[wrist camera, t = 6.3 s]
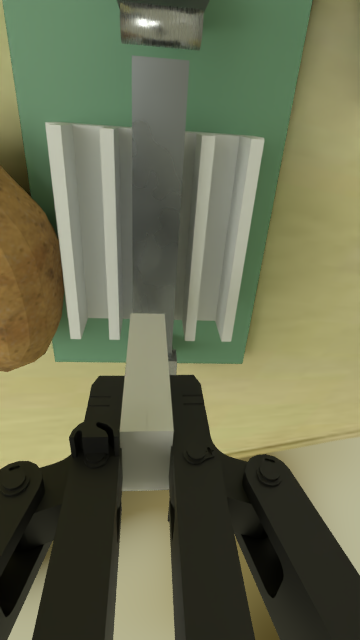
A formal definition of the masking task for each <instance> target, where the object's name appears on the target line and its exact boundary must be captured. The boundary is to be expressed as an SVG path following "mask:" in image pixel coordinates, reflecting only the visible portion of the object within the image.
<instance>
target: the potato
mask: <svg viewBox="0 0 360 640" xmlns="http://www.w3.org/2000/svg"><path fill="white" fill-rule="evenodd" d="M63 299H64V284H63V274H62V265H61V256H60V247H59V241H58V238H57V236H56V233H55V230H54V228H53V226H52V225H51V223H50V222H49V220H48V218H47V216H46V214H45V212H44V211H43V210H42V208H41V207H40V206H39V205H38V204H37V203H36V202H35V201H34V200H33V199H32V198H31V197H30V196H29V195H28V194H27V193H26V192H25V191H24V190H23V189H22V188H21V187H20V186H19V185H18V184H17V182H16V181H15V180H14V179H13V178H12V177H11V176H10V175H9V174H8V173H7V172H6V171H5V170H4V169H3V168H2V167H1V166H0V371H4V372H8V371H11V370H14V369H16V368H19V367H21V366H24V365H27V364H29V363H32V362H35V361H36V360H37V359H38V358H40V357H41V356H42V355H43V354H45V353H46V351H47V349H48V347H49V345H50V343H51V341H52V339H53V337H54V335H55V333H56V331H57V328H58V326H59V323H60V320H61V317H62V308H63Z"/></svg>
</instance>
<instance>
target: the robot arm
mask: <svg viewBox="0 0 360 640" xmlns="http://www.w3.org/2000/svg"><path fill="white" fill-rule="evenodd" d="M69 440H70V447H71V455H70V456H69V457H67V458H65V459H64V460H62V461H60V462H57V463H54V464H51V465H48V466H45V467H41V468H39V467H38V466H37V465H36V464H34V463H32V462H29V461H18V462H15V463H11V464H8V465H7V466H5V467H3V468H2V469H0V640H7V639H8V637H9V635H10V633H11V630H12V628H13V626H14V624H15V621H16V619H17V617H18V615H19V613H20V611H21V608H22V606H23V604H24V601H25V600H26V597H27V595H28V593H29V591H30V588H31V586H32V584H33V582H34V580H35V578H36V575H37V573H38V571H39V568H40V566H41V564H42V562H43V560H44V558H45V556H46V553H47V551H48V549H49V547H50V545H51V543H52V541H53V540H54V542H53V547H52V551H51V556H50V560H49V565H48V569H47V574H46V578H45V583H44V588H43V592H42V597H41V602H40V606H39V610H38V615H37V619H36V625H35V629H34V633H33V638H32V640H113V632H114V617H115V602H116V586H117V572H118V557H119V542H120V541H119V540H120V525H121V511H122V507H121V495H122V491H143V490H169V492H170V501H169V513H168V521H169V522H170V540H171V541H170V542H171V563H172V584H173V605H174V626H175V640H255V637H254V632H253V627H252V622H251V617H250V611H249V607H248V601H247V596H246V592H245V586H244V581H243V576H242V572H241V566H240V561H239V556H238V551H237V546H236V541H235V536H236V539H237V541H238V543H239V545H240V548H241V550H242V552H243V555H244V557H245V559H246V562H247V564H248V566H249V569H250V571H251V573H252V575H253V578H254V580H255V582H256V585H257V587H258V589H259V592H260V594H261V596H262V598H263V601H264V603H265V605H266V607H267V610H268V612H269V615H270V617H271V619H272V622H273V624H274V626H275V628H276V631H277V633H278V635H279V638H280V640H360V575H359V574H358V572H357V571H356V569H355V568H354V566H353V565H352V563H351V562H350V560H349V559H348V557H347V556H346V554H345V553H344V551H343V550H342V548H341V547H340V545H339V543H338V542H337V540H336V539H335V538H334V536H333V535H332V533H331V532H330V530H329V528H328V527H327V525H326V524H325V522H324V521H323V519H322V518H321V516H320V515H319V513H318V512H317V510H316V509H315V507H314V506H313V504H312V503H311V501H310V500H309V498H308V497H307V495H306V494H305V492H304V491H303V489H302V487H301V486H300V484H299V483H298V481H297V480H296V479H295V477H294V475H293V474H292V472H291V471H290V469H289V468H288V467H287V466H286V465H285V464H284V463H283V462H282V461H281V460H279V459H277V458H276V457H274V456H270V455H266V454H263V455H256V456H254V457H252V458H250V460H249V461H248V462H246V461H242V460H239V459H235V458H232V457H229V456H227V455H225V454H223V453H222V452H220V451H219V450H218V449H217V448H216V447H215V445H214V444H213V442H212V439H211V436H210V431H209V426H208V420H207V415H206V410H205V405H204V399H203V394H202V389H201V384H200V383H199V381H198V380H197V379H196V378H195V376H194V375H169V364H168V351H167V338H166V325H165V314H148V313H131V314H130V325H129V336H128V346H127V357H126V368H125V376H99V377H98V378H97V380H96V381H95V382H94V383H93V384H92V387H91V391H90V396H89V401H88V407H87V410H86V415H85V420H84V422H83V423H81V424H79V425H78V426H77V427H76V428H75V429H73V431H72V433H71V435H70V437H69ZM234 534H235V536H234Z"/></svg>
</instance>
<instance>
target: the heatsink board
mask: <svg viewBox="0 0 360 640" xmlns="http://www.w3.org/2000/svg"><path fill="white" fill-rule="evenodd" d="M120 1H123V2H133V3H143V4H153V5H162V6H172V7H182V8H191V9H201V10H203V32H202V41H201V47H200V51H196V50H185V49H174V48H164V47H153V46H142V45H131V44H122V43H121V33H120ZM312 1H313V0H2V2H3V8H4V15H5V22H6V29H7V36H8V42H9V49H10V56H11V63H12V70H13V77H14V83H15V90H16V97H17V104H18V111H19V117H20V124H21V131H22V138H23V145H24V151H25V158H26V165H27V172H28V179H29V186H30V192H31V198H32V199H33V200H34V201H35V202H36V203H37V204H38V205H39V206H40V207H41V208H42V210H43V211H44V212H45V214H46V216H47V218H48V220H49V222H50V223H51V225H52V226H53V228H54V230H55V233H56V236H57V238H58V241H59V247H60V256H61V265H62V274H63V284H64V299H63V308H62V317H61V320H60V323H59V326H58V328H57V331H56V333H55V335H54V337H53V339H52V342H53V349H54V356H55V362H126V357H127V346H128V336H129V325H130V314H131V313H133V253H132V55H133V56H144V57H155V58H167V59H178V60H189V78H188V94H187V110H186V127H185V143H184V160H183V176H182V193H181V209H180V225H179V242H178V258H177V275H176V291H175V308H174V324H173V340H172V349H176V355H177V363H217V364H242V363H243V358H244V352H245V347H246V342H247V337H248V332H249V327H250V321H251V316H252V311H253V306H254V301H255V296H256V290H257V285H258V280H259V275H260V270H261V264H262V259H263V254H264V249H265V244H266V239H267V233H268V228H269V223H270V218H271V213H272V208H273V202H274V197H275V192H276V187H277V182H278V177H279V171H280V166H281V161H282V156H283V151H284V145H285V140H286V135H287V130H288V125H289V120H290V114H291V109H292V104H293V99H294V94H295V89H296V83H297V78H298V73H299V68H300V63H301V57H302V52H303V47H304V42H305V37H306V32H307V26H308V21H309V16H310V11H311V6H312Z"/></svg>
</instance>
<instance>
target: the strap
mask: <svg viewBox="0 0 360 640" xmlns="http://www.w3.org/2000/svg"><path fill="white" fill-rule="evenodd" d="M202 32H203V10H201V9H191V8H182V7H172V6H162V5H153V4H143V3H133V2H123V1H120V33H121V43H122V44H131V45H142V46H153V47H164V48H174V49H185V50H196V51H200V47H201V41H202ZM188 78H189V60H178V59H167V58H155V57H144V56H133V55H132V253H133V313H148V314H165V325H166V338H167V351H168V364H169V375H176V370H177V355H176V349H172V340H173V324H174V308H175V291H176V275H177V258H178V242H179V225H180V209H181V193H182V176H183V160H184V143H185V127H186V110H187V94H188Z"/></svg>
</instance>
